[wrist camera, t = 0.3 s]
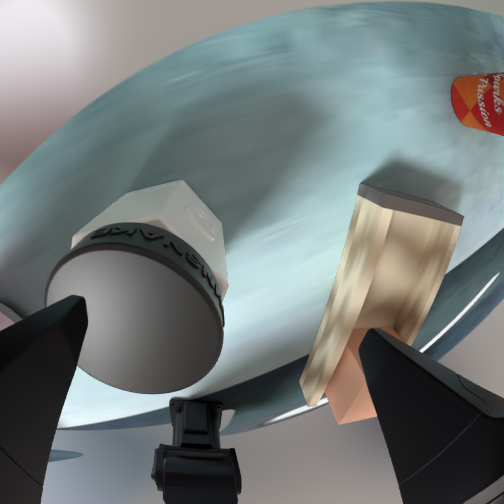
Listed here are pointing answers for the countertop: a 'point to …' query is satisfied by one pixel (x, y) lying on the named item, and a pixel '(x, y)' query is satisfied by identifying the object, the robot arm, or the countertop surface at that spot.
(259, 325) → the countertop surface
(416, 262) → the chute
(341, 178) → the countertop surface
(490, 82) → the paper cup
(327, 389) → the block
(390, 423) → the robot arm
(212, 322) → the jar
